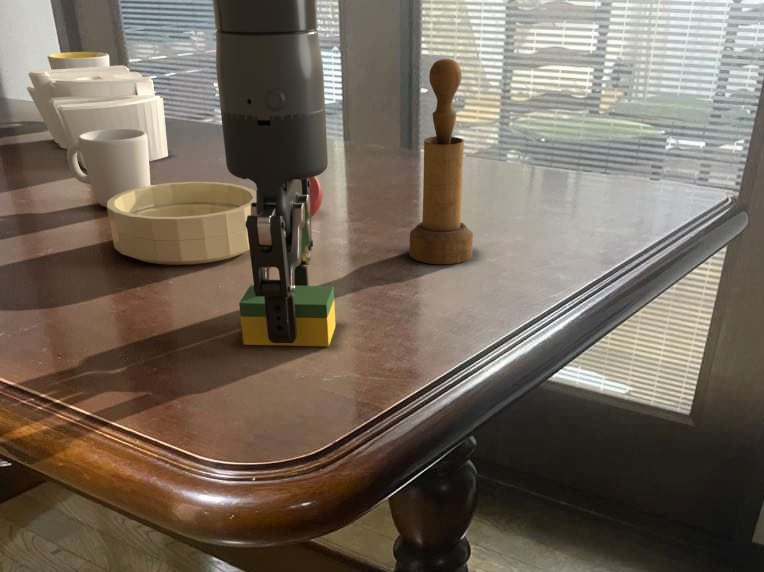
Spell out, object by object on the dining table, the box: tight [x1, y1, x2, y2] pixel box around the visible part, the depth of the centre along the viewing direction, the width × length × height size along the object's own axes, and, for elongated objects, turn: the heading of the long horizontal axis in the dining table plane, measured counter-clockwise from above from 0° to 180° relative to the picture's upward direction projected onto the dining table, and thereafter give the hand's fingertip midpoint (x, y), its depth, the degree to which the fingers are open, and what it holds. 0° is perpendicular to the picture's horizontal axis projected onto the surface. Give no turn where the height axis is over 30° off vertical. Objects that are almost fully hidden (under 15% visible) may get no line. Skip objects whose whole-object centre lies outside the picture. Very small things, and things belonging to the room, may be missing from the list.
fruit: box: [309, 176, 323, 218], centre depth 103 cm, size 6×6×8 cm
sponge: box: [238, 284, 337, 347], centre depth 72 cm, size 7×4×4 cm, turn 87°
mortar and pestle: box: [409, 58, 474, 265], centre depth 86 cm, size 7×6×18 cm
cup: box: [66, 129, 151, 208], centre depth 106 cm, size 11×8×8 cm
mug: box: [46, 51, 111, 70], centre depth 156 cm, size 14×10×10 cm
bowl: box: [106, 181, 257, 266], centre depth 93 cm, size 16×16×5 cm
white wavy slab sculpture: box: [26, 65, 169, 170], centre depth 133 cm, size 35×16×10 cm, turn 25°
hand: (290, 324), depth 72 cm, fingers open, 6 cm apart
